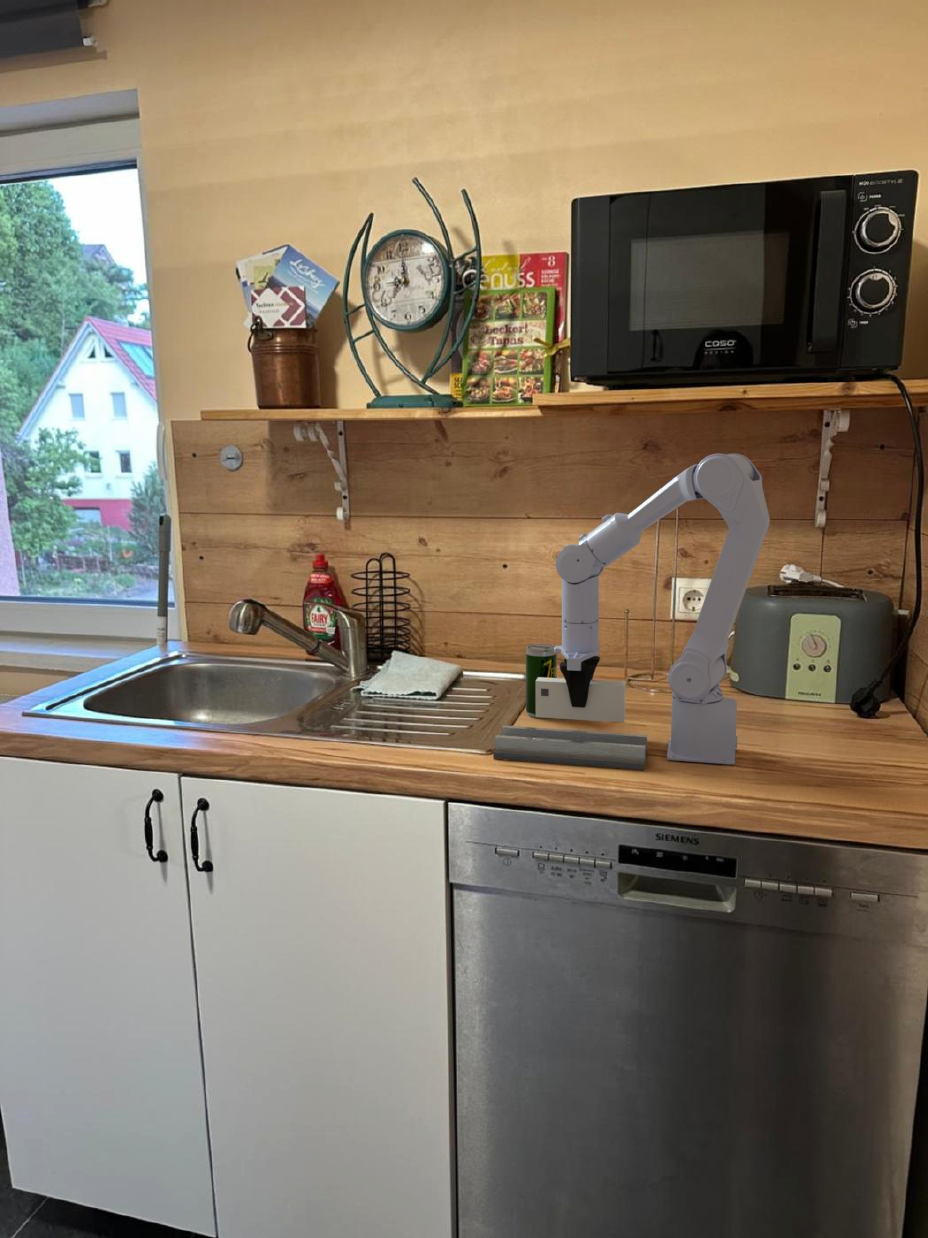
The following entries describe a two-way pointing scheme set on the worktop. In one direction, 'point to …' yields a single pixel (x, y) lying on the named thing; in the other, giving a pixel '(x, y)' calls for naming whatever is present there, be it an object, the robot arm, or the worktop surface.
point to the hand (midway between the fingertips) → (579, 704)
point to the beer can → (538, 671)
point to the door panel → (600, 705)
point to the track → (572, 747)
